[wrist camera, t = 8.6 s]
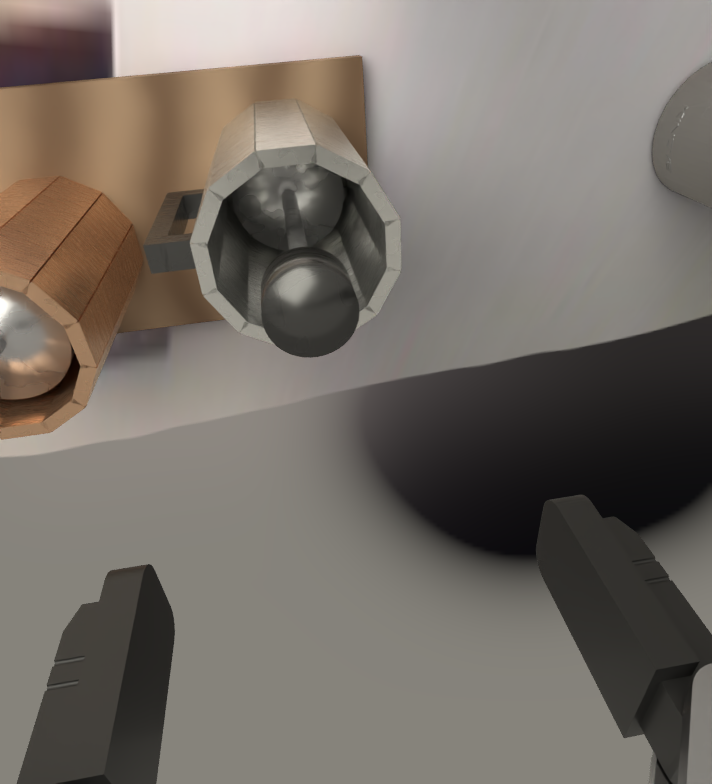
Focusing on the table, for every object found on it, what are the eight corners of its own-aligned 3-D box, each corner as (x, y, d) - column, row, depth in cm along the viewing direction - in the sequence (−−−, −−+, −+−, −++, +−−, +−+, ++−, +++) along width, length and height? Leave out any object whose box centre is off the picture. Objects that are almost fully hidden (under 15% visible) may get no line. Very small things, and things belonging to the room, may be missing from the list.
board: (358, 55, 34) (362, 56, 33) (371, 293, 43) (374, 299, 42) (-87, 95, 32) (-97, 98, 31) (27, 337, 41) (22, 345, 40)
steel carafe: (350, 92, 34) (398, 135, 23) (359, 239, 39) (402, 333, 28) (156, 111, 33) (105, 166, 22) (193, 259, 38) (167, 365, 27)
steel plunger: (337, 129, 32) (397, 215, 19) (346, 240, 36) (400, 377, 23) (222, 141, 31) (199, 238, 18) (243, 252, 35) (237, 400, 22)
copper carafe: (116, 169, 35) (49, 249, 23) (157, 304, 40) (119, 422, 29) (-82, 190, 34) (-254, 284, 22) (-13, 325, 39) (-122, 457, 28)
